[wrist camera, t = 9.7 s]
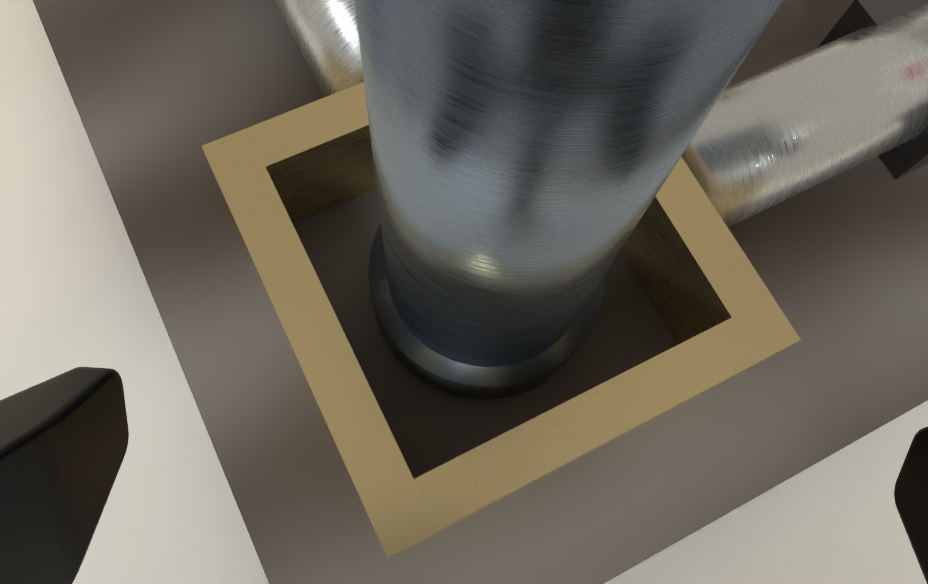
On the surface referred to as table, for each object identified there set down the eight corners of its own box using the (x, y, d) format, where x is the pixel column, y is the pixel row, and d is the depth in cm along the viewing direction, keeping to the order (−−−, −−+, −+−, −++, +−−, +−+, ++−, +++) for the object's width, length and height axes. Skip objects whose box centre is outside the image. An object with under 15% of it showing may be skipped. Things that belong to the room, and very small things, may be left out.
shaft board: (1132, 277, 21) (1167, 264, 20) (337, 726, 16) (331, 737, 15) (679, -289, 27) (689, -320, 26) (10, -73, 22) (-8, -101, 21)
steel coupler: (605, 390, 18) (1008, 26, 6) (378, 408, 18) (279, 56, 5) (575, 186, 20) (836, -440, 7) (367, 198, 19) (271, -446, 7)
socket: (1044, 213, 20) (1147, 157, 17) (392, 557, 16) (387, 557, 14) (669, -263, 25) (701, -368, 22) (104, -77, 21) (56, -174, 19)
